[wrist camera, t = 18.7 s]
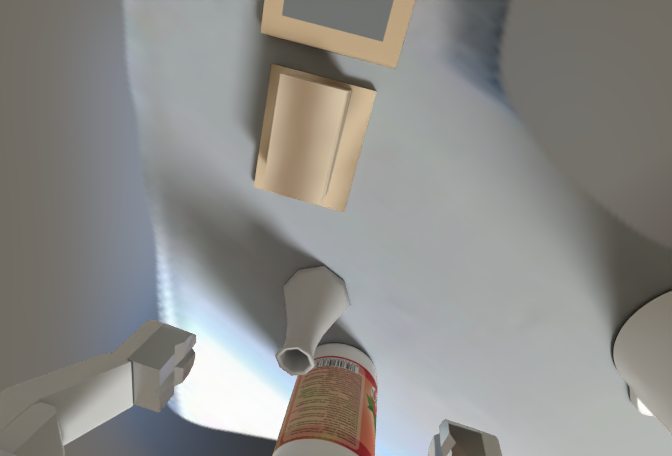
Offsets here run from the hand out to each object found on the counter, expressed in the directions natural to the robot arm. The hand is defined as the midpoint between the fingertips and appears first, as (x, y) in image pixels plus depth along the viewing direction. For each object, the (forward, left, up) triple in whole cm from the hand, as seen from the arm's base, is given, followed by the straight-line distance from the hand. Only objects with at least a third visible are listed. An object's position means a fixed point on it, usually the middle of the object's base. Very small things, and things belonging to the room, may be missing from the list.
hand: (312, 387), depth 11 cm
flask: (+2, +13, -24) cm, 27 cm away
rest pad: (+6, -3, -23) cm, 24 cm away
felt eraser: (+6, -3, -23) cm, 23 cm away
